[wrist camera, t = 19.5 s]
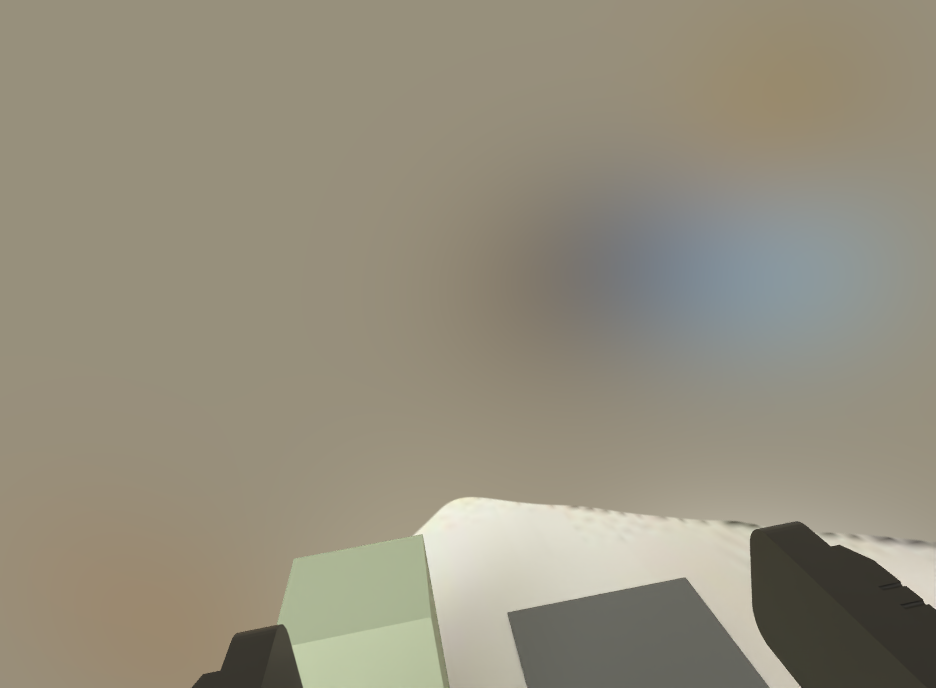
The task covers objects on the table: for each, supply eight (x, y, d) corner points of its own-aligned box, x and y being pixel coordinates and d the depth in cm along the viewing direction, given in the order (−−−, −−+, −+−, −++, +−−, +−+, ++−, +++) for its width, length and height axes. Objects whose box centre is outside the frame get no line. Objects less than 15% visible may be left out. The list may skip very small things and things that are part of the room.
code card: (685, 578, 45) (685, 576, 45) (854, 801, 28) (854, 798, 28) (507, 613, 44) (507, 612, 44) (575, 866, 27) (575, 863, 27)
